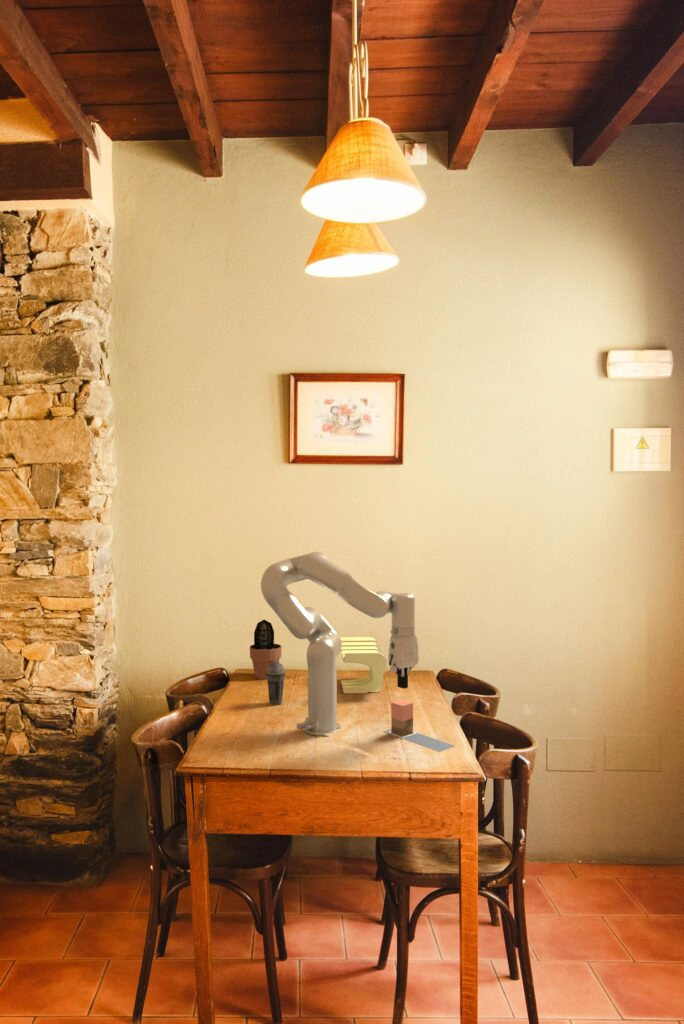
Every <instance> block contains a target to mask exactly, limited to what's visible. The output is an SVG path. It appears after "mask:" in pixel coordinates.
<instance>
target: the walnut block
mask: <svg viewBox="0 0 684 1024" xmlns="http://www.w3.org/2000/svg"><path fill="white" fill-rule="evenodd" d="M390 719H391V723H390V724H391V727H390V728H391V733H394V734H396V735H399V736H402V737H403V736H406V735H409V734H412V733H413V732H414V717H413V718H412V719H409V720H405V721H400V720H397V719H394V718H391V717H390Z"/></svg>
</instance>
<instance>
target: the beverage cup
mask: <svg viewBox="0 0 684 1024" xmlns="http://www.w3.org/2000/svg"><path fill="white" fill-rule="evenodd" d="M266 675H267V679H266V680H267V689H268V690H267V691H268V701H269V705H270V704H271V705H270V706H273V705H277V706H281V705H282V704H283V703H282V702H283V696H284V695H283V694H284V681H285V676H286V670H285V667H284V665H283V664H281V662H279V663H278V662H276V651H275V662H274V663H271V664H270V665H269V666H268V668H267V672H266ZM281 703H282V704H281ZM280 704H281V705H280Z"/></svg>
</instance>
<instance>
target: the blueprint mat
mask: <svg viewBox="0 0 684 1024" xmlns="http://www.w3.org/2000/svg"><path fill="white" fill-rule="evenodd" d="M383 733H385V734H388V735H391V736H394V737H396V738H398V739H399V738H400V739H402V740H405V741H408V742H410V743H412V744H413V743H414V744H417V745H419V746H422V747H425V748H427V749H430V750H432V751H435V752H438V753H440V752H442V751H445V750H448V749H451V748H453V747H455V745H454V744H452V743H448V742H444V741H442V740H439V739H436V738H434V737H430V736H429V735H425V734H421V733H420V732H415V731H413V733H412V734H409V735H406V736H403V737H402V736H399V735H396V734H394V733H391V729H388V730H384V731H383Z"/></svg>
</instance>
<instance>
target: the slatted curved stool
mask: <svg viewBox="0 0 684 1024" xmlns="http://www.w3.org/2000/svg"><path fill="white" fill-rule="evenodd" d="M339 637H340V636H339ZM340 639H341V642H342V648H341V651H340V653H341V659H342V661H343V663H347V664H348V663H349V664H360V665H364V666H366V667H369V674H368V675H367V676H365V677H363V678H358V679H346V680H341V682H340V683H341V684H342V685H341V688H343V689H342V693H343V692H344V693H343V694H368V693H367V692H376V693H378V692H380V691H381V690H382V689H383V687H384V673H387V672H388V671H387V669H388V667H387V666H388V663H387V658H386V656H385V655H384V654H383V653H381V652H380V650H379V644H378V642H377V640H376V639H375V638H374V637H371V636H348V637H345V636H344V637H343V636H342V637H340Z"/></svg>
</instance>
